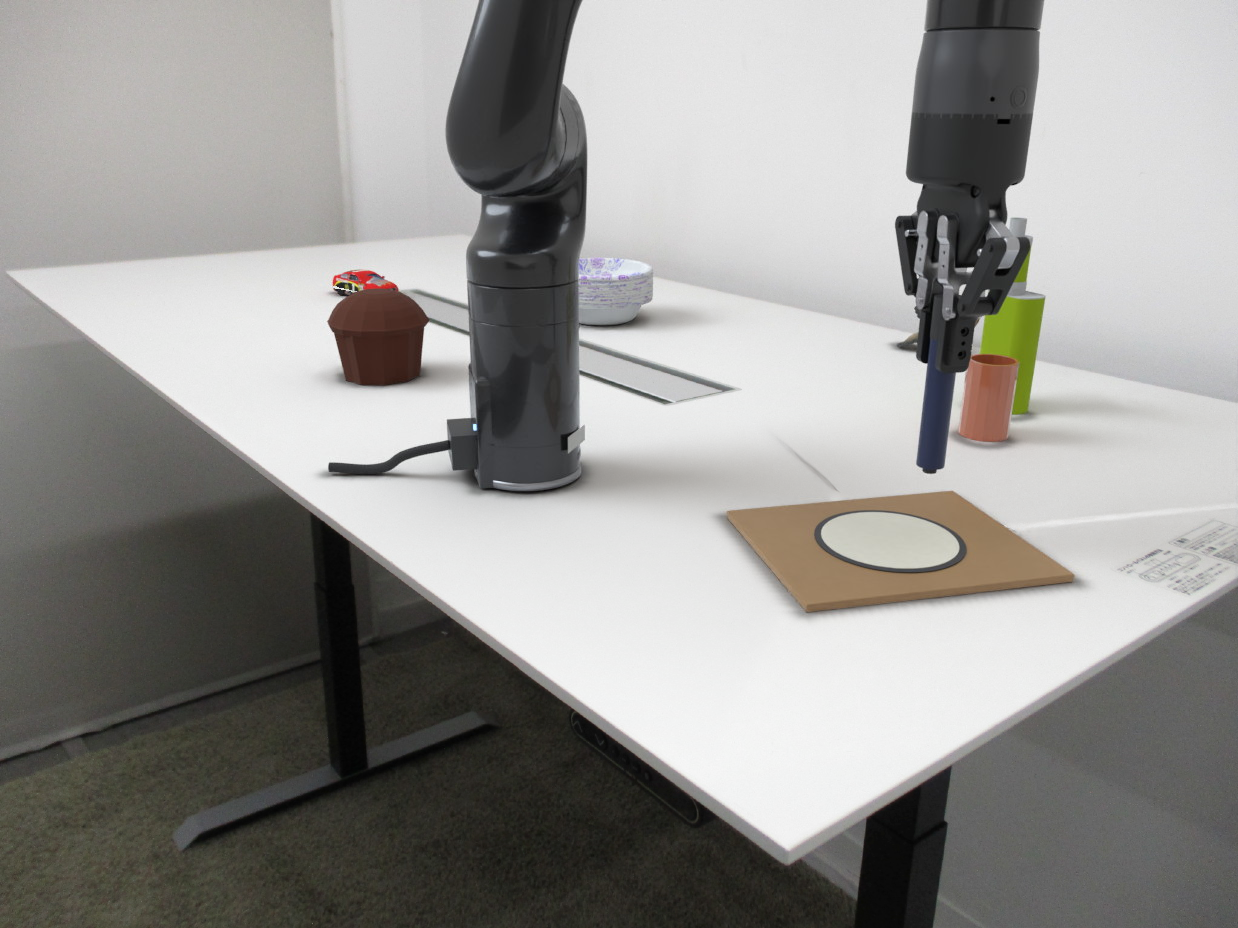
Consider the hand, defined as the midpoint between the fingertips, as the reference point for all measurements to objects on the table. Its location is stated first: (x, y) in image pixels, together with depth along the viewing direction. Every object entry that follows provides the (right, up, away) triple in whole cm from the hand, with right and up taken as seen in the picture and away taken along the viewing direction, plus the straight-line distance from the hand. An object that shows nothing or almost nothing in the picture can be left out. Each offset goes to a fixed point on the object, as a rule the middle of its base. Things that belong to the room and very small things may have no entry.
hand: (941, 365), depth 71 cm
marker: (0, -8, +3) cm, 8 cm away
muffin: (-51, +3, +48) cm, 70 cm away
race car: (-64, +20, +93) cm, 115 cm away
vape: (+18, -1, +37) cm, 41 cm away
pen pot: (+13, -4, +28) cm, 31 cm away
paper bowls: (-25, +14, +78) cm, 83 cm away
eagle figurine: (+19, +8, +62) cm, 65 cm away
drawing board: (-3, -13, +4) cm, 14 cm away
